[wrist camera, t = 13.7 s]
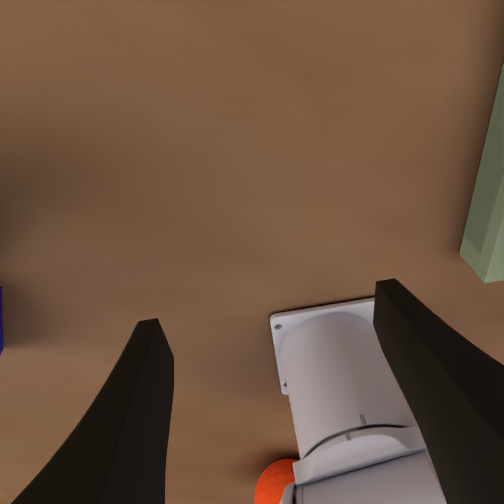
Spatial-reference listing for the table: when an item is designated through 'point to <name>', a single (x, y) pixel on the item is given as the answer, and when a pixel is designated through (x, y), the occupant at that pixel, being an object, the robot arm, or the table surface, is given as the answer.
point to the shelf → (488, 202)
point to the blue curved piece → (0, 330)
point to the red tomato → (274, 481)
